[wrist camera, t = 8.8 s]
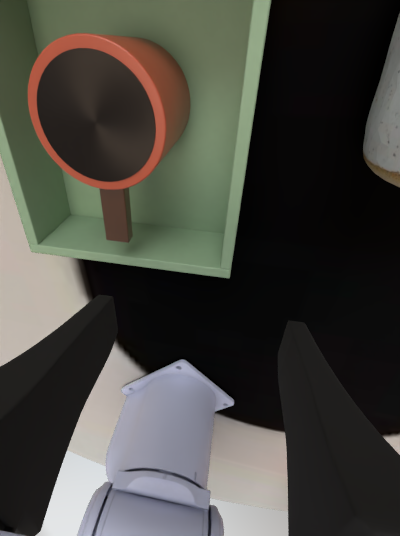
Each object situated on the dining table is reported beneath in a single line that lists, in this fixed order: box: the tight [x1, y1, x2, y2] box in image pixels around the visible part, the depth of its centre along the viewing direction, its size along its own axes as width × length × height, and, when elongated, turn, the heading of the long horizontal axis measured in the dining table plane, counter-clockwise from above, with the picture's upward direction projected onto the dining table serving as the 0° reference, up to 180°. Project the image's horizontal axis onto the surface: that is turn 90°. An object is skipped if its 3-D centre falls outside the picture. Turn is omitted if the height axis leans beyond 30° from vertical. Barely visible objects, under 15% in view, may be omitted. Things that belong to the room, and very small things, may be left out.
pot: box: [28, 33, 190, 243], centre depth 15 cm, size 8×5×6 cm, turn 177°
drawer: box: [0, 0, 271, 278], centre depth 15 cm, size 13×12×4 cm
